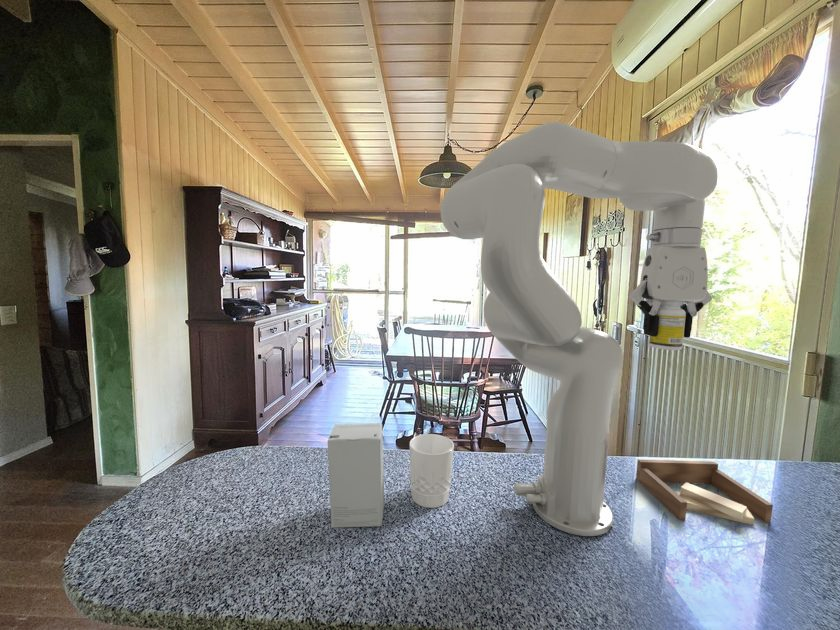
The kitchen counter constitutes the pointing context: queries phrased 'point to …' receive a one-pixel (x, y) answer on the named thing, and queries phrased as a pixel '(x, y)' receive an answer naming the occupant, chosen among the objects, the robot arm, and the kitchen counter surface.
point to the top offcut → (714, 500)
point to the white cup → (431, 469)
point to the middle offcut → (714, 510)
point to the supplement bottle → (669, 326)
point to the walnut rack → (706, 472)
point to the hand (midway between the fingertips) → (666, 334)
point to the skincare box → (356, 475)
